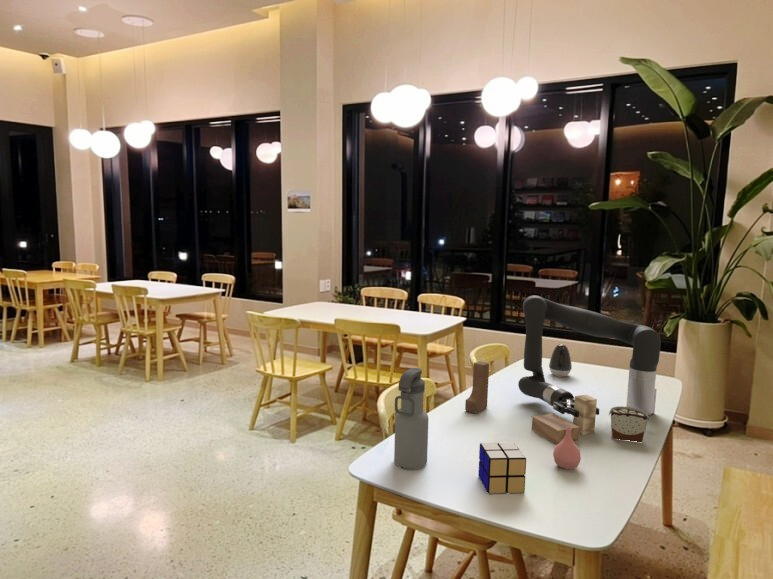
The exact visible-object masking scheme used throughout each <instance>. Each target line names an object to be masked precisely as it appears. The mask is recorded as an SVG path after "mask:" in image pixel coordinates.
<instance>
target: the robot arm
mask: <svg viewBox="0 0 773 579" xmlns="http://www.w3.org/2000/svg"><path fill="white" fill-rule="evenodd" d="M522 311H523V314H524V322H525V329H526V330H525V339H524V340H525V341H524V349H523V350H524V351H523V368H524V370H526V371H529V372H532V375H527V376H526V375H525V376H522V377H521V378H520V379H519V380H518V384H517V385H518V386H517V387H518V389H519V391H520V392H521V394H523V395H525V396H528V397H532V398H535V399H539V400H541V401H543V402H545V403H547V404H548V405H549V406H551V407H552V409H553V410H555V411H557V412H558V413H559V414H561V415H565V413H566V414H567V415H572V416H573V417H574V416H575V417H579V411H578V410H576V409H574V403H575V395H573V393H571V392H570V391H568V390H565V389H563V388H562V387H559V386H558V385H557V386H556V385H553V384H551V383H549V382H546V379H545V375H544V369H543V329H544V322H545V320H548V321H552V322H555V323H558V324H560V325H562V326H564V327H566V328H568V329H570V330H573V331H574V332H579V333H581V334H585V335H588V336H591V337H596V338H606V339H612V340H613V339H614V340H618V341H621V342H624V343H626V344H629V345H631V346H632V357H631V359H630V360H629V367H628V368H629V369H628V384H627V392H626V394H627V395H626V406H625V407H631V408H636V409H639V410H642V411H644V412H646V413H647V414H648V415H650V416H652V415H653V414H655V413H656V411H655V410H656V401H657V388H656V377H657V368H658V365H659V362H660V361H659V360H660V353H661V344H662V342H661V341H662V340H661V337H660V335H659V333H658V332H657V331H655V330H654V329H653V328H652V327H650V326H647V325H642V324H637V323H635V324H634V323H630V322H626V321H622V320H618V319H615V318H613V317H610V316H607V315H605V314H601V313H599V312H597V311H592V310H588V309H584V308H581V307H576V306H572V305H571V306H570V305H565V304H561V303H557V302H555V301H552V300H549V299H547V298H544V297H542V296H539V295H535V294H534V295H530V296H527V297H526V298H525V299H524V301H523V303H522ZM654 412H655V413H654ZM652 413H653V414H652ZM651 414H652V415H651ZM598 415H600V408H598V407H597V406H596V416H598Z"/></svg>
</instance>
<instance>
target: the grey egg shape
mask: <svg viewBox="0 0 773 579" xmlns="http://www.w3.org/2000/svg"><path fill="white" fill-rule="evenodd" d="M548 368H549V370H550V373H551V374H553V375H554V376H556V377H561V378H562V377H567V376H568V375H570V373H571V370H572V368H573V367H572V358H571V355H570V351H569V349H568V347H567V345H565V344H562V343H558V344H557V345H556V346H555V347H554V349H553V351H552V353H551V356H550V359H549V364H548Z"/></svg>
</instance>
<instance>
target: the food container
mask: <svg viewBox="0 0 773 579" xmlns="http://www.w3.org/2000/svg"><path fill="white" fill-rule="evenodd" d="M608 416H610V428H611V429H610V430H611V440H614V439H618V440H617V441H621V440H630V441H637V442H643V443H644V439H645V434H646V433H645V432H646V428H647V423H648V422H650V421H651V420H650V416H648V414H647V413H646V412H644V411H642V410H639V409H636V408H631V407H626V406H619V405H618V406H614V407H611V408H610V410H609V412H608ZM619 439H620V440H619Z"/></svg>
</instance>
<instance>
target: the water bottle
mask: <svg viewBox="0 0 773 579" xmlns="http://www.w3.org/2000/svg"><path fill="white" fill-rule="evenodd" d="M422 374H423V369H422V368H419V367H410V368H409V369H407V370H405V371H404V372H403V373H402V374H401V375H400V377H399V382H398V387H397V388H398V391H400V395H397V396H395V397H394V411H395V413H396V414H395V417H394V450H393V451H394V453H393V454H394V455H393V460H394V461H393V462H394V463H395V464H396V465H397V467H399V466H400V467H399V468H401V467H403V468H402V469H405V468H407V469H406V470H419V469H422V468H424V467H425V466H426V464H427V463H428V449H429V448H428V447H429V446H428V444H429V415H428V413H427V412H426V411H425V410H424V399H425V398H424V397H425V396H424V394H425V392H426V391H425V390H426V387H425V386H426V381H425V380H424V379H422V378H421V376H422ZM399 400H400V409H399V408H398V401H399ZM418 468H419V469H418Z"/></svg>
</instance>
